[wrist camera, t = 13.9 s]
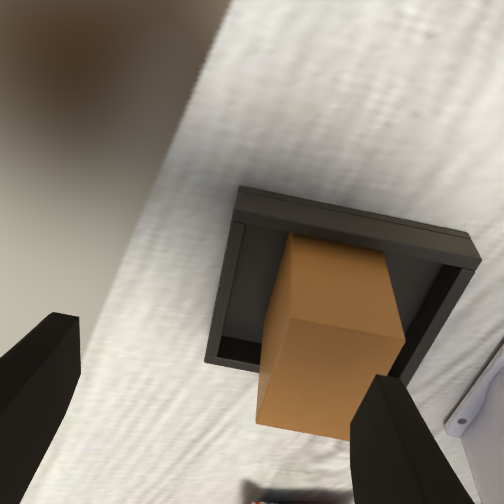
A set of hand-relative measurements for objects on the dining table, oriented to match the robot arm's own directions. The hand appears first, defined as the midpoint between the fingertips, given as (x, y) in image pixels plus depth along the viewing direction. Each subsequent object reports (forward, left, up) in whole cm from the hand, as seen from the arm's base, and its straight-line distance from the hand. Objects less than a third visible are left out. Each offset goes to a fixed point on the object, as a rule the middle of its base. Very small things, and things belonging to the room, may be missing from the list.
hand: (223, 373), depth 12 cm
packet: (-4, -4, -10) cm, 12 cm away
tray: (-5, -4, -10) cm, 12 cm away
